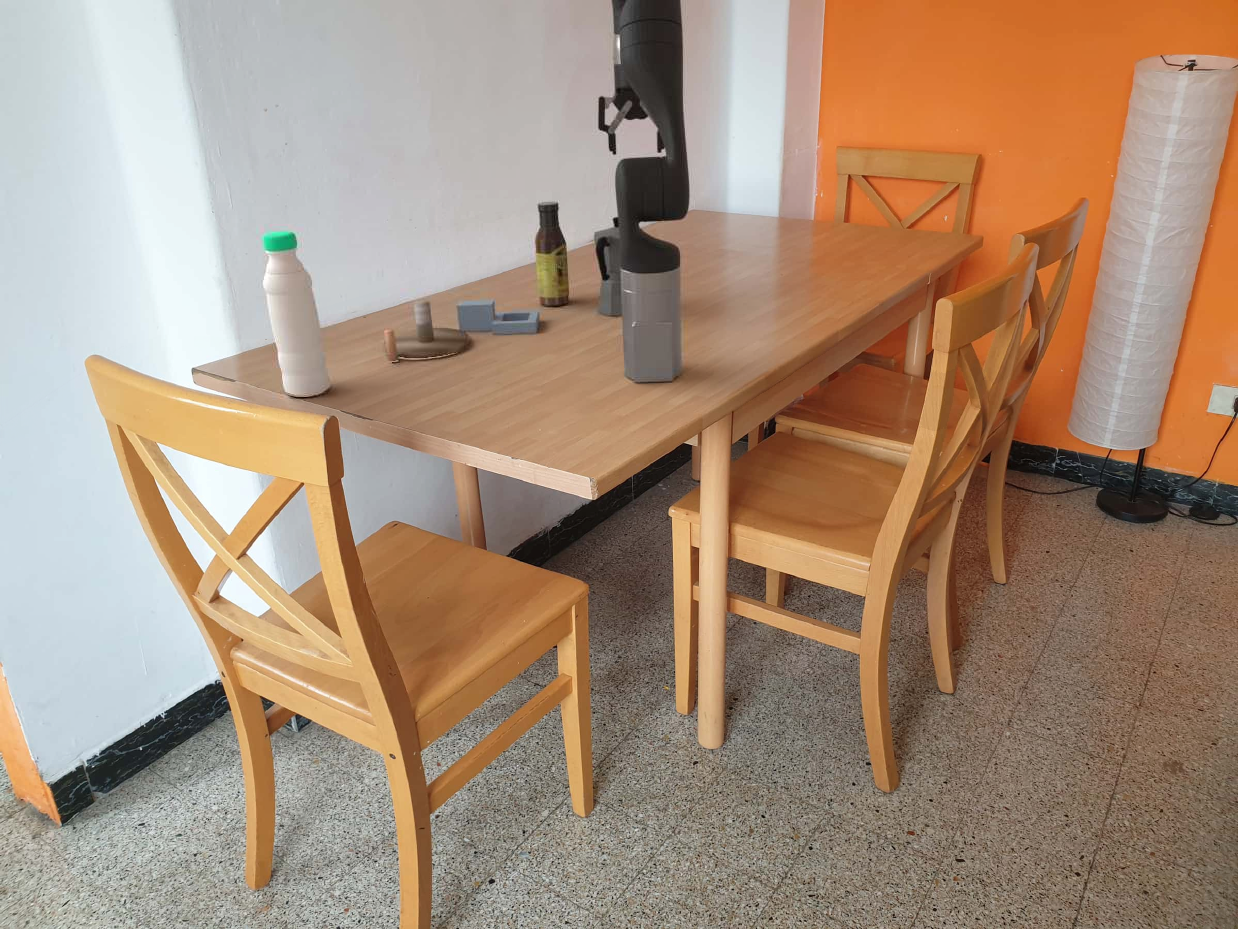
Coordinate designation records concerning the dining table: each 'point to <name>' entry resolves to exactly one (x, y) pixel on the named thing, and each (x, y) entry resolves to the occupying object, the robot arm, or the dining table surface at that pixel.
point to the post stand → (428, 337)
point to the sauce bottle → (551, 257)
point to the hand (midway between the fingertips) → (637, 153)
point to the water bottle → (294, 317)
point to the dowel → (391, 345)
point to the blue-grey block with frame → (495, 318)
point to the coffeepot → (609, 270)
